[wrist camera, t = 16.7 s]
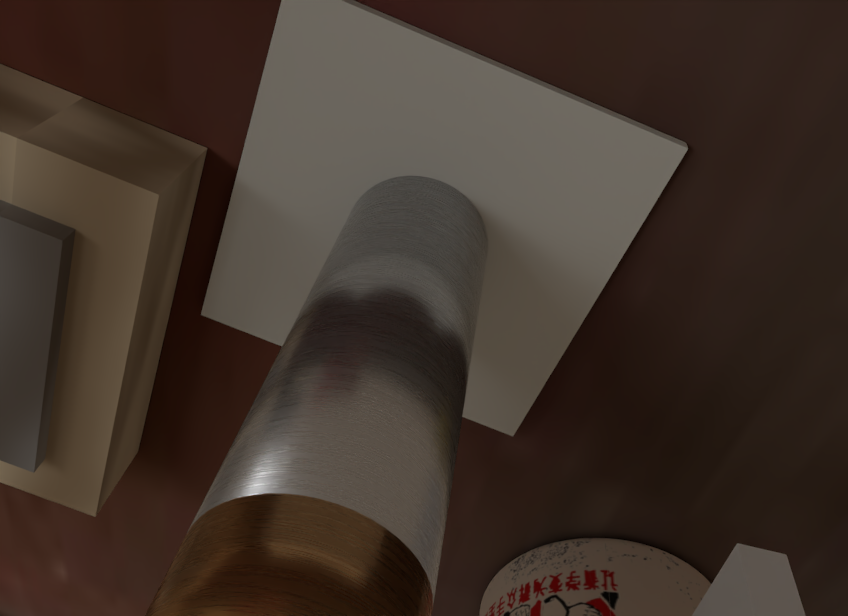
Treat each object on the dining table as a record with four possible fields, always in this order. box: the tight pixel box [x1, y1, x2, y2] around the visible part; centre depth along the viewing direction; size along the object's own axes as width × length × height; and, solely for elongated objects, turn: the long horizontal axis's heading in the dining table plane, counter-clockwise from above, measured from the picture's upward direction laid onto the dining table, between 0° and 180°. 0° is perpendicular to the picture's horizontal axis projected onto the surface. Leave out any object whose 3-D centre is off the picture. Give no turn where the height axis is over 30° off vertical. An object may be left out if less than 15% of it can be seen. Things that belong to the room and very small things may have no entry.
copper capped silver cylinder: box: [145, 176, 488, 616], centre depth 15 cm, size 4×4×14 cm
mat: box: [201, 0, 688, 436], centre depth 21 cm, size 10×10×1 cm
